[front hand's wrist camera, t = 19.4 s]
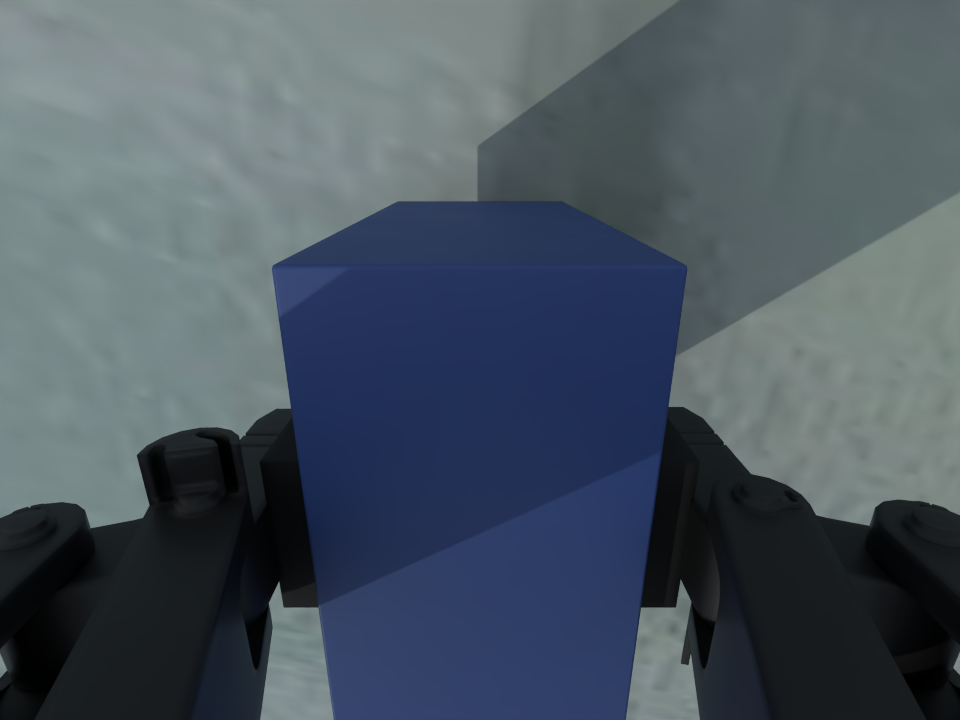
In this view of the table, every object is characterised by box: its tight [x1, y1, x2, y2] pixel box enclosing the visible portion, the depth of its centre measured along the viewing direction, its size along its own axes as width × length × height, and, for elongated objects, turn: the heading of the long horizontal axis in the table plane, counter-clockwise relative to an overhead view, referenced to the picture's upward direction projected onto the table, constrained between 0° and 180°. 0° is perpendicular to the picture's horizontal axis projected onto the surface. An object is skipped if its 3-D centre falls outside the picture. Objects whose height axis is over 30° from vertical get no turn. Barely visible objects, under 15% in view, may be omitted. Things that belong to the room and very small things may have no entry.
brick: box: [272, 202, 687, 720], centre depth 12 cm, size 5×9×10 cm, turn 0°
